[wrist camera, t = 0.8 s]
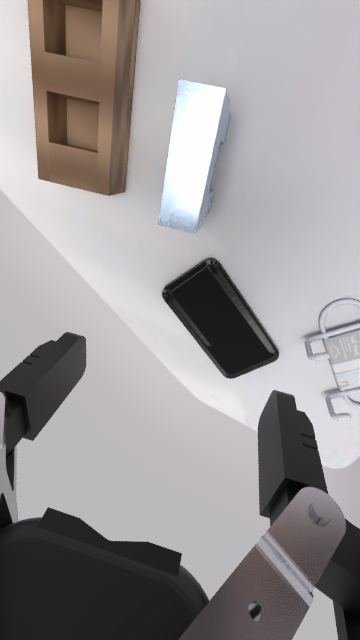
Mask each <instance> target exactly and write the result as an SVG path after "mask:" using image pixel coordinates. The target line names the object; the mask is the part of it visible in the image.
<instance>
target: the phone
mask: <svg viewBox="0 0 360 640" xmlns="http://www.w3.org/2000/svg"><path fill="white" fill-rule="evenodd" d="M162 296H163V299H164V300H165V302H166V303H167V304H168V305H169V307H170V308H171V309H172V310H173V312H174V313H175V314H176V316H177V317H178V318H179V319H180V321H181V322H182V323H183V325H184V326H185V327H186V328H187V330H188V331H189V332H190V334H191V335H192V336H193V337H194V339H195V340H196V341H197V342H198V344H199V345H200V346H201V348H202V349H203V350H204V351H205V353H206V354H207V355H208V357H209V358H210V359H211V360H212V362H213V363H214V364H215V365H216V367H217V368H218V369H219V371H220V372H221V373H222V374H223V376H225V377H226V378H230V379H233V378H236V377H238V376H241V375H243V374H246V373H248V372H250V371H253V370H255V369H258V368H260V367H262V366H265V365H267V364H270V363H272V362H274V361H276V360H277V359H278V357H279V351H278V348H277V346H276V345H275V344H274V342H273V341H272V339H271V338H270V336H269V335H268V333H267V332H266V330H265V329H264V327H263V326H262V324H261V323H260V321H259V320H258V319H257V317H256V316H255V314H254V313H253V311H252V310H251V308H250V307H249V305H248V304H247V302H246V301H245V299H244V298H243V296H242V295H241V294H240V292H239V291H238V289H237V288H236V286H235V285H234V283H233V282H232V280H231V279H230V277H229V276H228V274H227V273H226V272H225V270H224V269H223V267H222V266H221V264H220V263H219V262H218V261H217V260H216V259H213V258H209V259H206V260H204V261H203V262H201V263H199V264H198V265H196V266H195V267H193V268H192V269H190V270H189V271H187V272H186V273H184V274H183V275H181V276H180V277H178V278H177V279H175V280H174V281H172V282H171V283H169V284H168V285H167V286H166V287H165V288H164V290H163V292H162Z"/></svg>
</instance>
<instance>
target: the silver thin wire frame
mask: <svg viewBox="0 0 360 640" xmlns="http://www.w3.org/2000/svg"><path fill="white" fill-rule="evenodd" d="M342 304H352V305H356V306H358V307H359V308H360V301H357V300H354V299H341V300H337V301H335V302H333V303H331V304H329V305H328V306H327V307H326V308H325V309H324V310H323V312H322V313H321V315H320V319H319V326H320V330H321V334H318V335H315V336H312V337H309V338H307V339H306V340H305V347H306V352H307V356H308V358H309V359H311V360H315V361H322V360H328V359H329V361H330V364H331V367H332V370H333V374H334V377H335V380H336V383H337V386H338V388H339V389H340V392H336V393H331V394H328V395H327V396H326V403H327V406H328V410H329V413H330V416H331V417H332V418H333V419H336V420H338V421H345V420H350V419H351V415H350V414H348V413H341V414H335V412H334V409H333V406H332V403H331V400H330V399H332V398H335V397H340V396H343V399H344V400H345V402H346V403H348V404H349V405H350V406H352V407H355V408H359V409H360V404H358V403H355V402H353V401H351V400H350V399H349V398H348V396H347V395H350V394H355V393H360V323H356V324H353V325H349V326H346V327H342V328H339V329H336V330H332V331H329V332H326V329H325V317H326V315H327V314H328V312H329V311H331V310H332V309H333V308H335V307H336V306H339V305H342ZM319 339H323V342H324V345H325V348H326V352H324V353H318V354H314V355H313V353H312V350H311V346H310V342H312V341H316V340H319Z"/></svg>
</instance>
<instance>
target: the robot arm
mask: <svg viewBox="0 0 360 640" xmlns="http://www.w3.org/2000/svg"><path fill="white" fill-rule="evenodd" d="M85 368H86V339H85V337H84V336H80V335H77V334H73V333H69V332H66V333H64V334H63V335H62V337H60V338H59V339H58V340H57V341H53V340H51V341H49V342H47V343H44V344H42V345H40V346H39V347H38V348H36V349H35V350H34V351H33V352H32V353H31V354H30V356H27V357H26V358H25V359H24V360H23V362H22V363H20V364H19V365H17V366H16V367H15V368H14V369H13V370H12V371H11V372H10V373H9V374H7V375H6V376H5V377H4V378H3V379H2V380H1V381H0V640H292V638H293V637H294V635H295V633H296V631H297V629H298V627H299V626H300V624H301V622H302V620H303V619H304V617H305V615H306V613H307V611H308V609H309V607H310V605H311V603H312V601H313V595H312V592H313V589H314V587H316V588H317V589H318V590H320V591H321V592H323V593H324V594H325V595H326V596H328V597H329V598H330V599H332V600H333V605H334V612H335V619H336V627H337V634H338V640H360V529H359V528H357V527H356V526H354V525H353V524H351V523H350V522H349V521H348V520H346V519H345V518H344V515H343V513H342V511H341V509H340V507H339V506H338V504H337V503H336V502H335V501H334V500H333V499H332V498H331V497H330V496H329V495H328V491H327V487H326V483H325V478H324V474H323V469H322V465H321V460H320V456H319V451H318V450H317V449H318V447H317V442H316V440H315V434H314V429H313V425H312V423H311V422H310V420H309V418H308V417H307V415H306V414H305V412H301V411H298V410H297V409H296V403H295V398H294V396H293V395H290V394H287V393H283V392H279V391H276V390H274V391H272V393H271V395H270V397H269V399H268V401H267V403H266V405H265V407H264V410H263V412H262V414H261V416H260V419H259V424H258V455H259V456H258V458H259V501H260V503H259V504H260V515H261V516H264V517H268V518H270V528H269V529H268V531H267V532H266V533H265V534H264V535H263V536H262V537H261V538H260V540H259V541H258V542H257V543H256V544H255V546H254V547H253V548H252V549H251V551H250V552H249V553H248V554H247V556H246V557H245V558H244V559H243V560H242V562H241V563H240V564H239V566H238V567H237V568H236V569H235V570H234V572H233V573H232V574H231V575H230V576H229V578H228V579H227V580H226V581H225V583H224V584H223V585H222V586H221V588H220V589H219V590H218V591H217V592H216V594H215V595H214V596H213V598H212V599H211V600H210V601H209V599H208V597H207V596H206V594H205V592H204V590H203V589H202V587H201V586H200V584H199V583H198V582H197V581H196V579H195V578H194V577H193V576H192V575H191V574H190V573H189V572H188V571H187V570H186V569H185V568H184V567H183V566H181V565H180V561H181V555H182V554H181V553H179V552H176V551H173V550H170V549H167V548H164V547H161V546H158V545H155V544H153V543H149V542H130V541H110V540H107V539H106V538H104V537H103V536H102V535H101V534H99V533H98V532H97V531H95V530H94V529H93V528H92V527H90V526H89V525H88V524H86V523H85V522H84V521H82V520H81V519H80V518H77V517H74V516H71V515H69V514H65V513H63V512H60V511H57V510H54V509H51V508H47V510H46V512H45V514H44V515H43V517H42V518H30V519H26V520H22V521H18V511H17V503H16V455H17V453H16V451H17V450H16V445H17V444H18V442H19V441H20V440H21V439H22V437H23V438H26V439H29V440H32V441H33V440H34V439H35V437H36V436H37V435H38V434H39V432H40V431H41V430H42V428H43V427H44V426H45V425H46V423H47V422H48V421H49V419H50V418H51V417H52V415H53V414H54V413H55V412H56V410H57V409H58V408H59V406H60V405H61V404H62V402H63V401H64V400H65V398H66V397H67V396H68V394H69V393H70V392H71V390H72V389H73V388H74V387H75V385H76V384H77V383H78V381H79V380H80V379H81V377H82V376H83V373H84V371H85Z"/></svg>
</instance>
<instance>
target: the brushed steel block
mask: <svg viewBox="0 0 360 640" xmlns="http://www.w3.org/2000/svg"><path fill="white" fill-rule="evenodd" d="M228 105H229V98H228V94H227V91H226V88H221V87H216V86H211V85H206V84H201V83H196V82H191V81H186V80H181V79H179V83H178V90H177V97H176V104H175V111H174V118H173V125H172V132H171V139H170V146H169V153H168V160H167V166H166V173H165V180H164V187H163V194H162V201H161V208H160V215H159V222H158V224H159V225H163V226H167V227H171V228H175V229H179V230H183V231H187V232H191V233H196V231H197V230H198V229H199V227H200V226H201V225H202V222H203V218H204V217H205V216H206V215H207V213H208V212H209V208H210V204H211V200H212V195H213V191H212V190H210V186H211V181H212V177H213V172H214V168H215V163H216V159H217V154H218V150H219V145H220V143H225V138H226V134H227V130H228V125H229V121H230V114H229V112H228Z"/></svg>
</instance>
